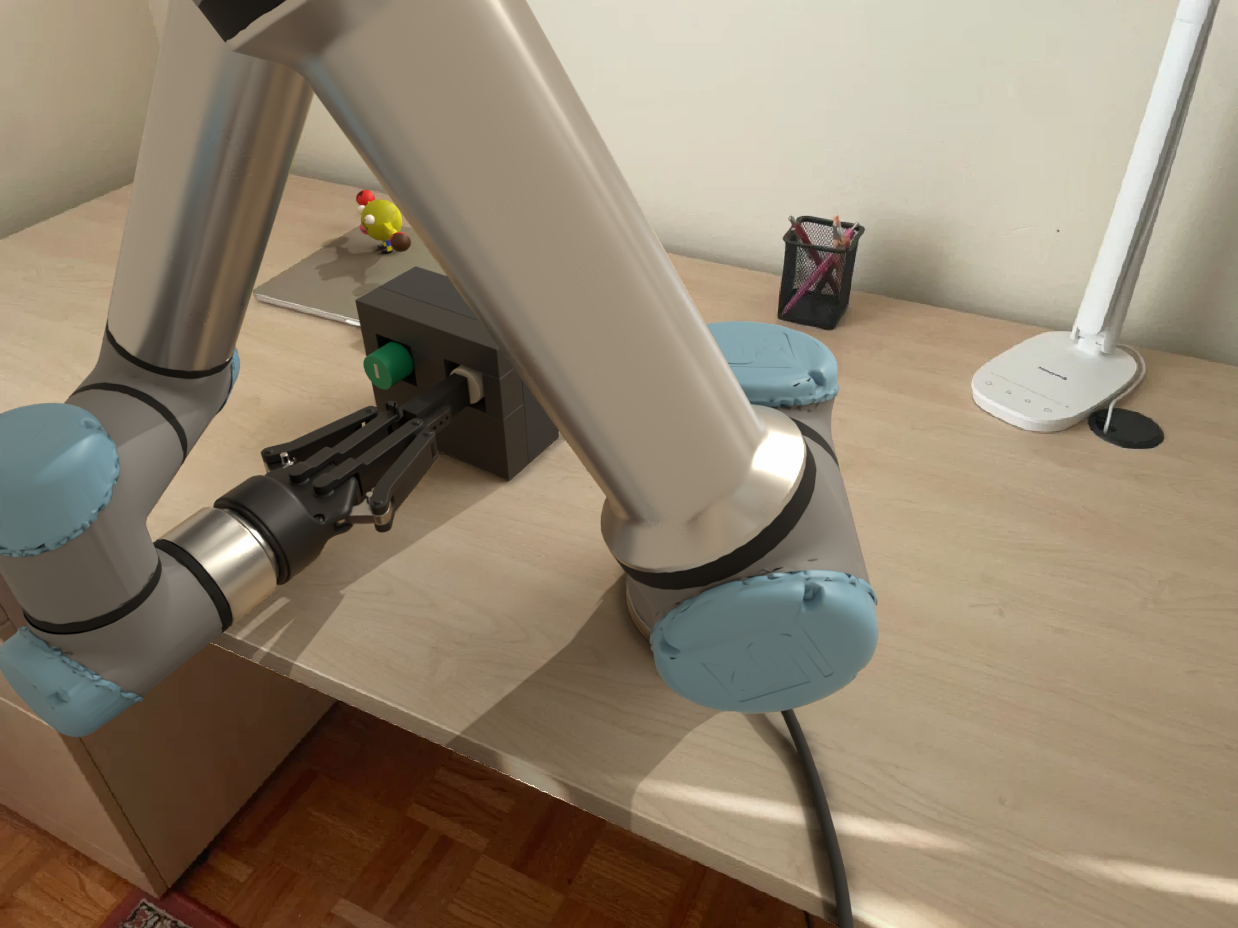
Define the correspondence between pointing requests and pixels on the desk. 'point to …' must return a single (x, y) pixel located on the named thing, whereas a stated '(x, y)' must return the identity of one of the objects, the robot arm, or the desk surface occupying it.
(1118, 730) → the desk surface
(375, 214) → the toy figure
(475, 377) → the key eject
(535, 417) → the dock
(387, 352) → the key power
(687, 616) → the robot arm
